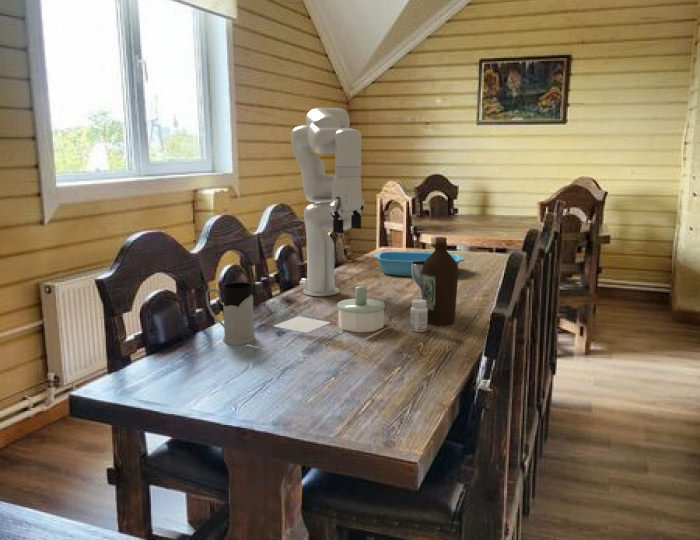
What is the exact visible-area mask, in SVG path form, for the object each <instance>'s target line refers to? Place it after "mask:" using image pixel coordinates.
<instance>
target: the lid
mask: <svg viewBox="0 0 700 540" xmlns="http://www.w3.org/2000/svg"><path fill="white" fill-rule="evenodd" d="M354 288H355V290H354V291H355V292H354V298H348V299H343V300H341V301H338V302H337V304H336V308H337V309H339V310H341V311H344V312H349V313H373V312H378V311H381V310H383V309H384V310H385V308H386V304H385V302H383V301H381V300H380V299H379V300H377V299H373V298H367V296H368V294H367V292H368V291H367V290H368V289H367V286H365V285H356V286H355V287H354Z"/></svg>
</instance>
